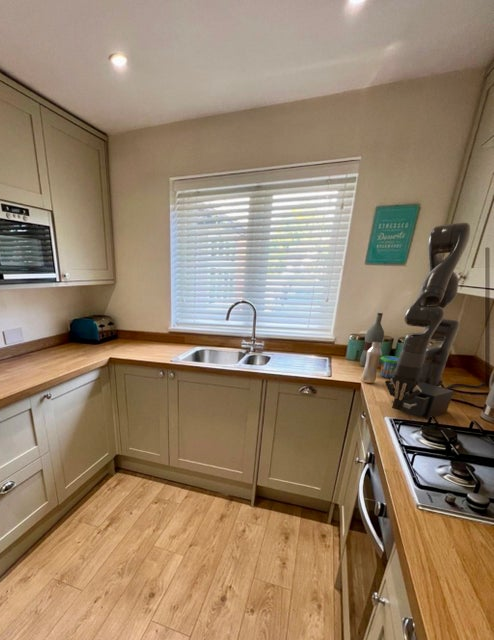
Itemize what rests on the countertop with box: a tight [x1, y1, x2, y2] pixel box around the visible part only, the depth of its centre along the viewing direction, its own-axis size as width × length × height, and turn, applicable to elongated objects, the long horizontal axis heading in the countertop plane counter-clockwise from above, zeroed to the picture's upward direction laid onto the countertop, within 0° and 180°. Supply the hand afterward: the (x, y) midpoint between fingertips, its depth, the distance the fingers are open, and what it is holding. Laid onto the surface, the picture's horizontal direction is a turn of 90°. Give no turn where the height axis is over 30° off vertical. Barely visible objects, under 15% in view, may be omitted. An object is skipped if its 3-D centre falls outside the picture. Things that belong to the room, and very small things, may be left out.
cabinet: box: [411, 382, 454, 419], centre depth 131 cm, size 14×12×9 cm
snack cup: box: [379, 355, 399, 379], centre depth 171 cm, size 16×10×10 cm
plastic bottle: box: [360, 342, 383, 384], centre depth 160 cm, size 6×7×20 cm
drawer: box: [390, 391, 432, 419], centre depth 128 cm, size 18×10×7 cm, turn 118°
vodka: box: [359, 312, 385, 368], centre depth 188 cm, size 9×9×30 cm
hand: (396, 408), depth 123 cm, fingers closed
